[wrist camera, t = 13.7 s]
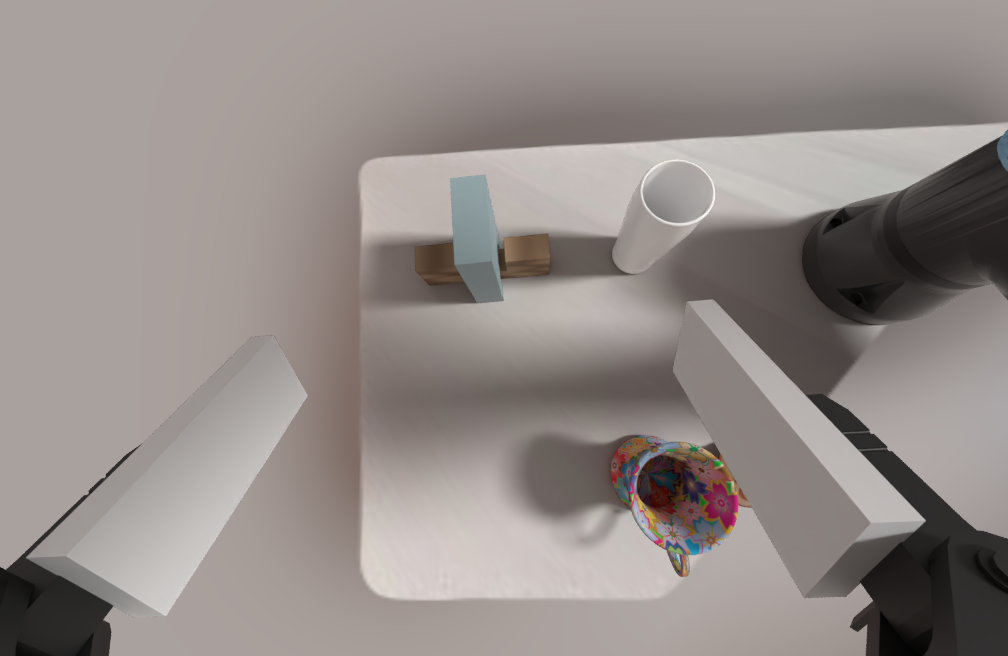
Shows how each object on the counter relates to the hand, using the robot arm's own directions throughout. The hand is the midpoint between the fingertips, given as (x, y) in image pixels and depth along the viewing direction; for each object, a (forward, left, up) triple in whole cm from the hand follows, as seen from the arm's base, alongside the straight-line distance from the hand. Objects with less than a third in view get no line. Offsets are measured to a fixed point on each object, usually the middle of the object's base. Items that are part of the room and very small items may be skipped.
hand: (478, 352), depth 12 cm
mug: (-14, +12, -34) cm, 39 cm away
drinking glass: (-16, -16, -34) cm, 41 cm away
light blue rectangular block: (+3, -15, -34) cm, 37 cm away
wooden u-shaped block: (+3, -16, -34) cm, 37 cm away
